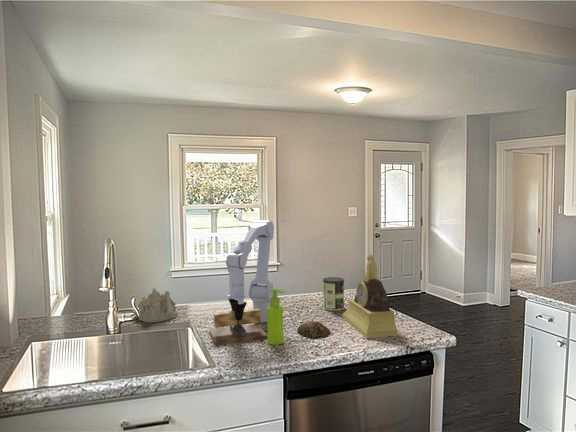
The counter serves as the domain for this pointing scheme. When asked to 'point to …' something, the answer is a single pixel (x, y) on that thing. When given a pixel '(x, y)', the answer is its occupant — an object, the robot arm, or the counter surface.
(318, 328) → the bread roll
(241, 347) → the counter surface
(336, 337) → the counter surface
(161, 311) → the sand castle
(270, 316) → the soap dispenser
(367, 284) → the decorative clock
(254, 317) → the oak beam
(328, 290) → the coffee can
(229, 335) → the board
